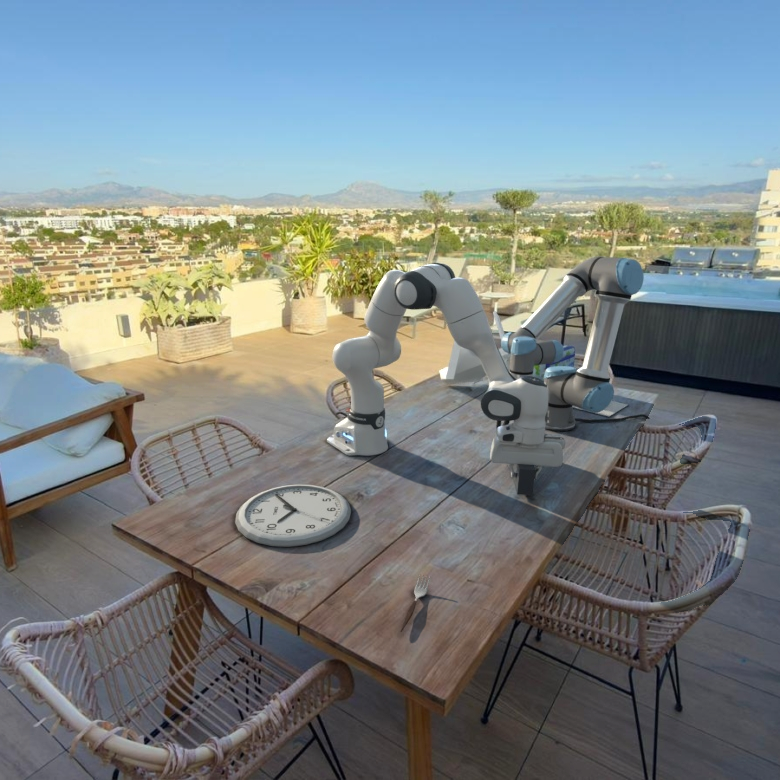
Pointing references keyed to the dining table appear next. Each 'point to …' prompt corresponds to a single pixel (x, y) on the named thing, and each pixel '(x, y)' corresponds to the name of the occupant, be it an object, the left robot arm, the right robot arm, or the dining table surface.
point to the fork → (418, 593)
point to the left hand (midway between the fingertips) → (523, 477)
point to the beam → (524, 479)
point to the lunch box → (565, 361)
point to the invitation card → (610, 408)
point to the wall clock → (293, 515)
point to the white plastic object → (469, 362)
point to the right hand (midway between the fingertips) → (513, 449)
